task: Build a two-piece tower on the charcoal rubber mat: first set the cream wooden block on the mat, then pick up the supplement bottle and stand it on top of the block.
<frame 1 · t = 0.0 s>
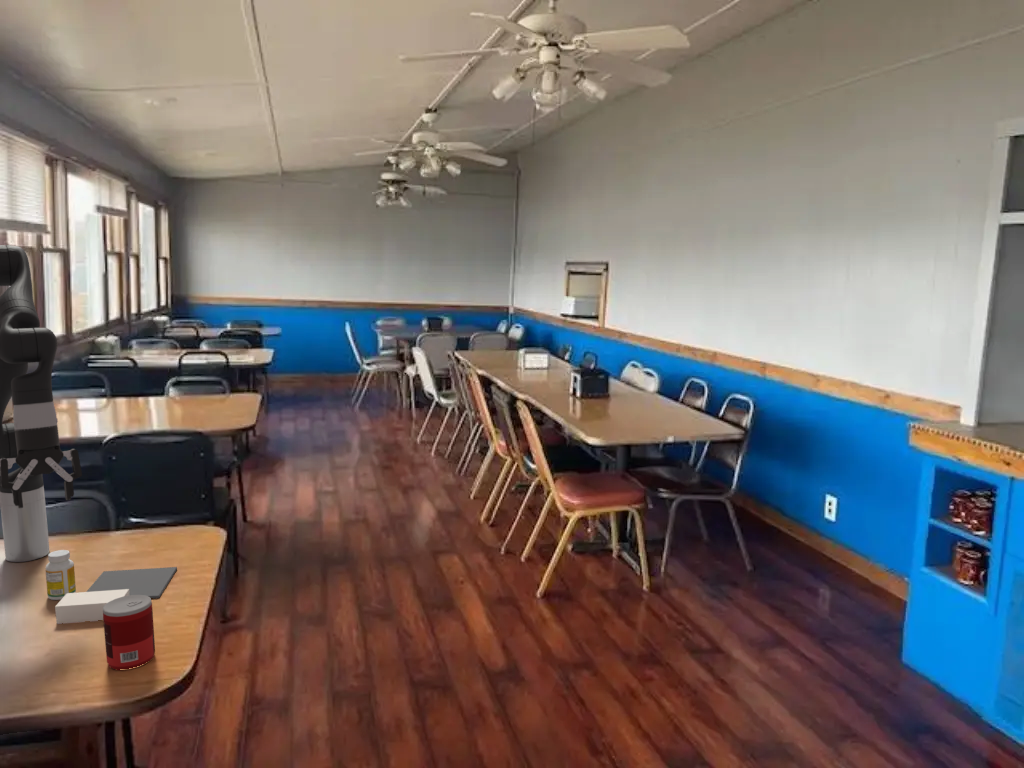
hand: (44, 503, 159), 22 cm above the table, tool pointing down, fingers open, 8 cm apart
supplement bottle: (62, 596, 168), on the table
canned food: (131, 661, 141), on the table
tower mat: (130, 585, 173), on the table
riser block: (94, 615, 159), on the table
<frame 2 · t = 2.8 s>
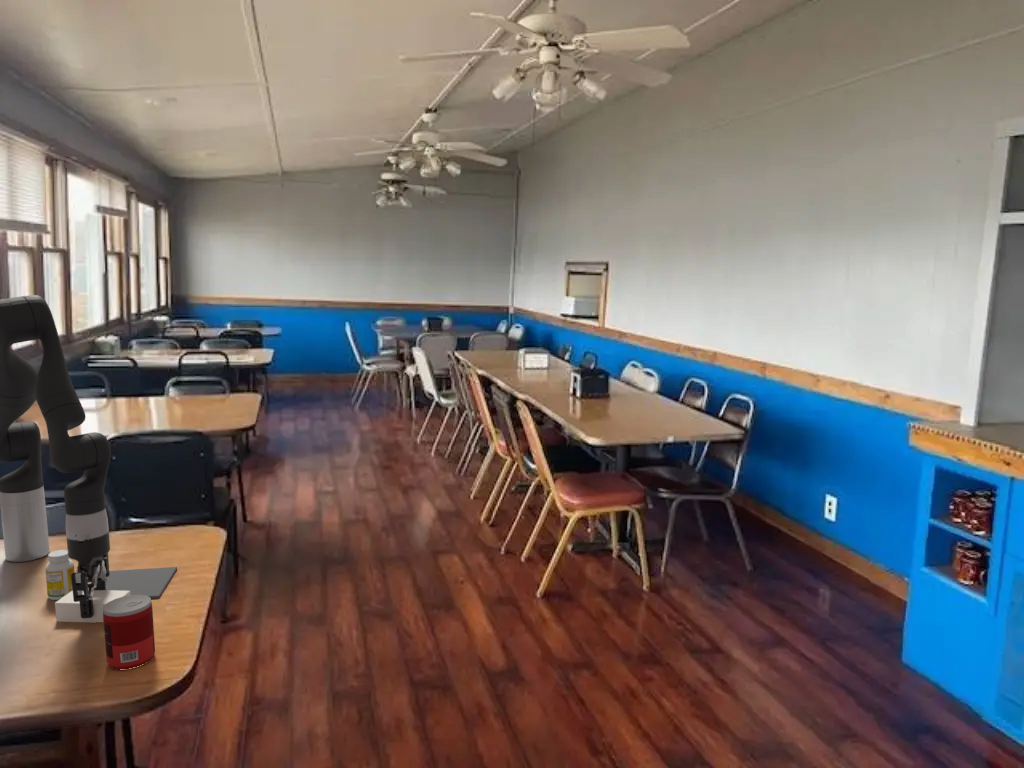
hand: (94, 609, 158), 1 cm above the table, tool pointing down, fingers closed on riser block, 7 cm apart
riser block: (94, 615, 159), on the table, touching gripper
everything else where it was.
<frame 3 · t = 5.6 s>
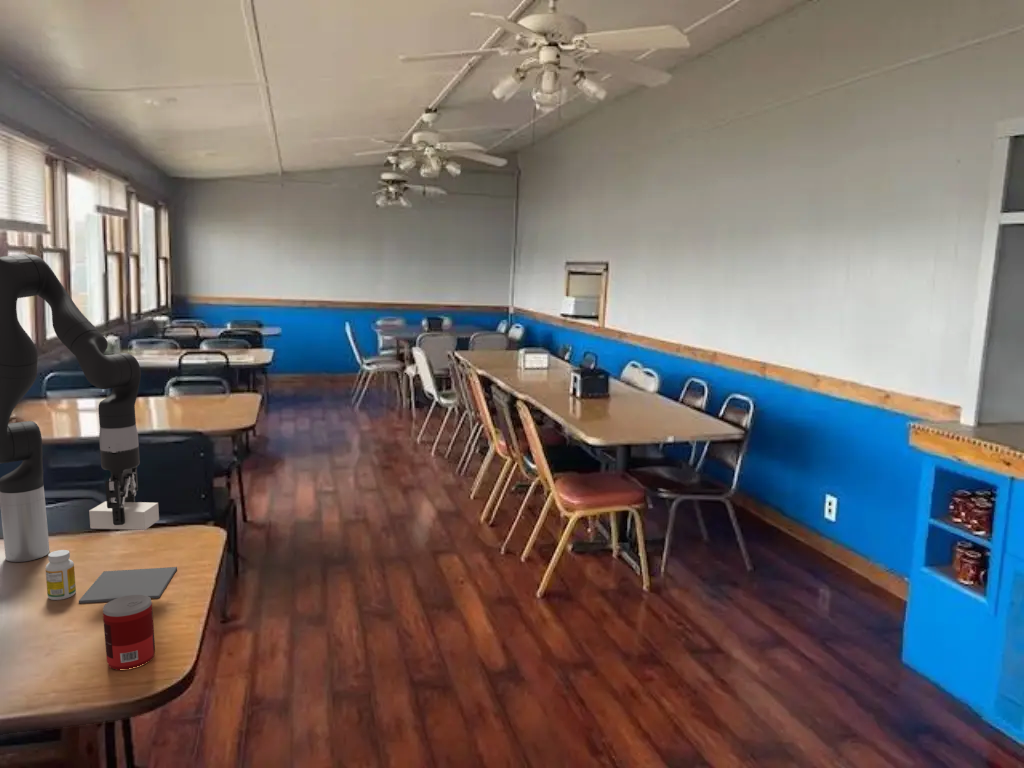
hand: (124, 518, 170), 16 cm above the table, tool pointing down, fingers closed on riser block, 7 cm apart
riser block: (125, 524, 171), point 14 cm above the table, touching gripper
everything else where it was.
when the fingers open (3 cm above the table, at t = 8.7 s): riser block stays where it is, resting on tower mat.
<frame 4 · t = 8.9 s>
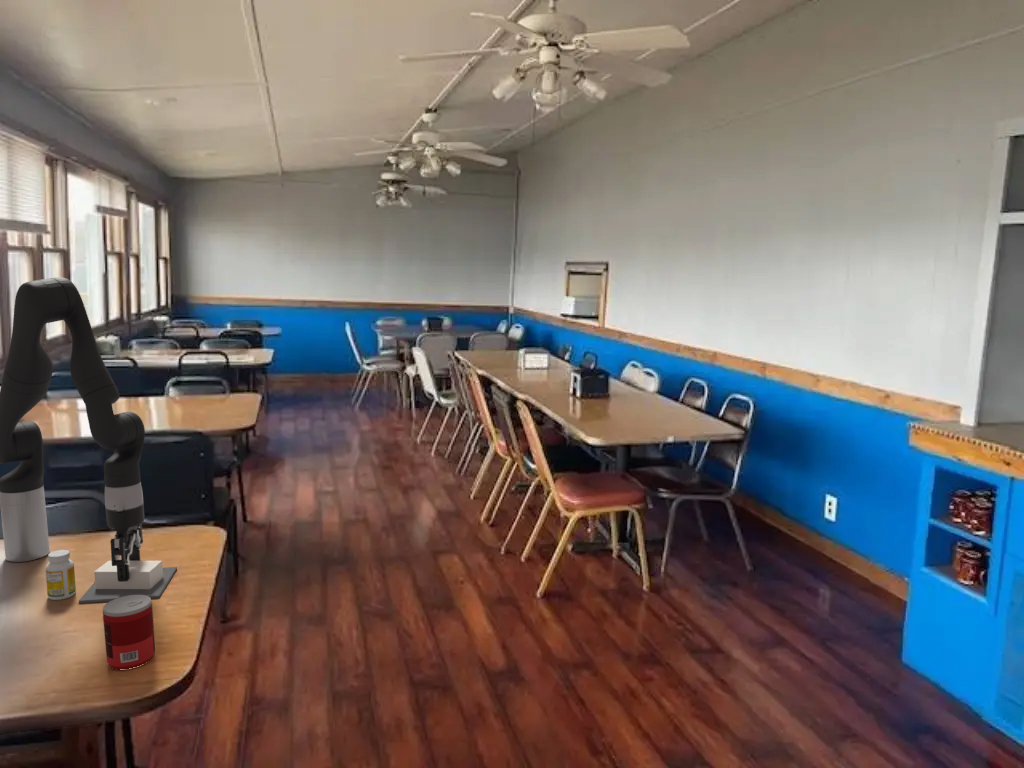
hand: (129, 573, 172), 3 cm above the table, tool pointing down, fingers open, 8 cm apart
riser block: (130, 583, 173), point 1 cm above the table, touching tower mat
everything else where it was.
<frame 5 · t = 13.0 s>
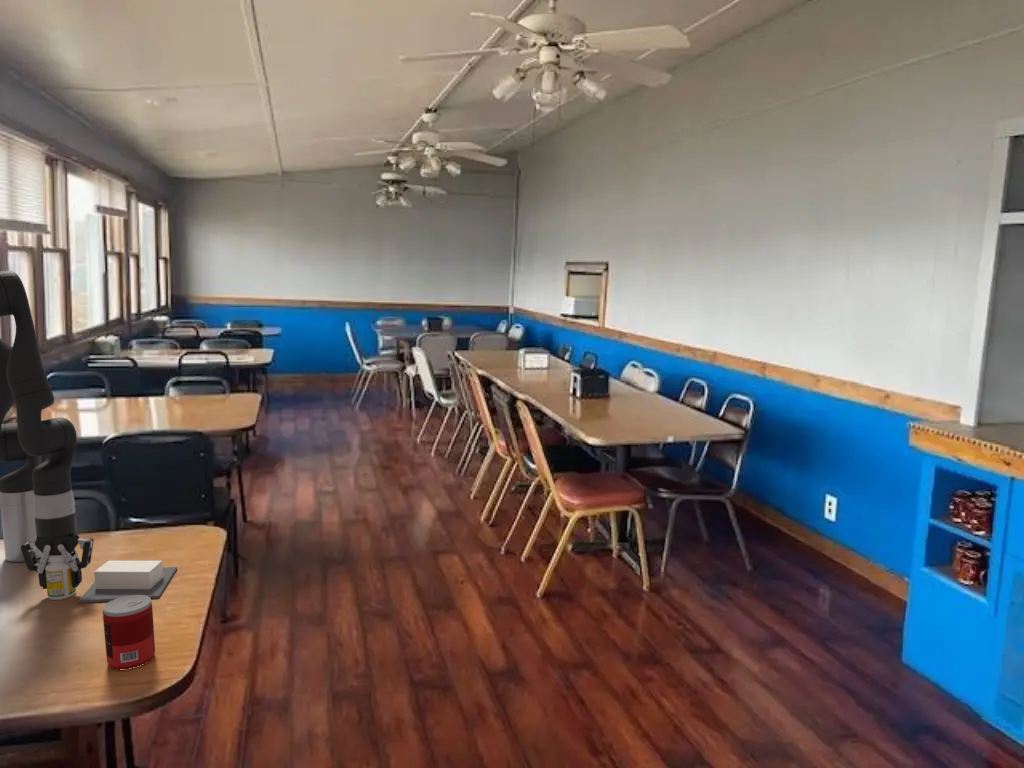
hand: (61, 586, 167), 2 cm above the table, tool pointing down, fingers closed on supplement bottle, 5 cm apart
supplement bottle: (62, 596, 168), on the table, touching gripper
everything else where it was.
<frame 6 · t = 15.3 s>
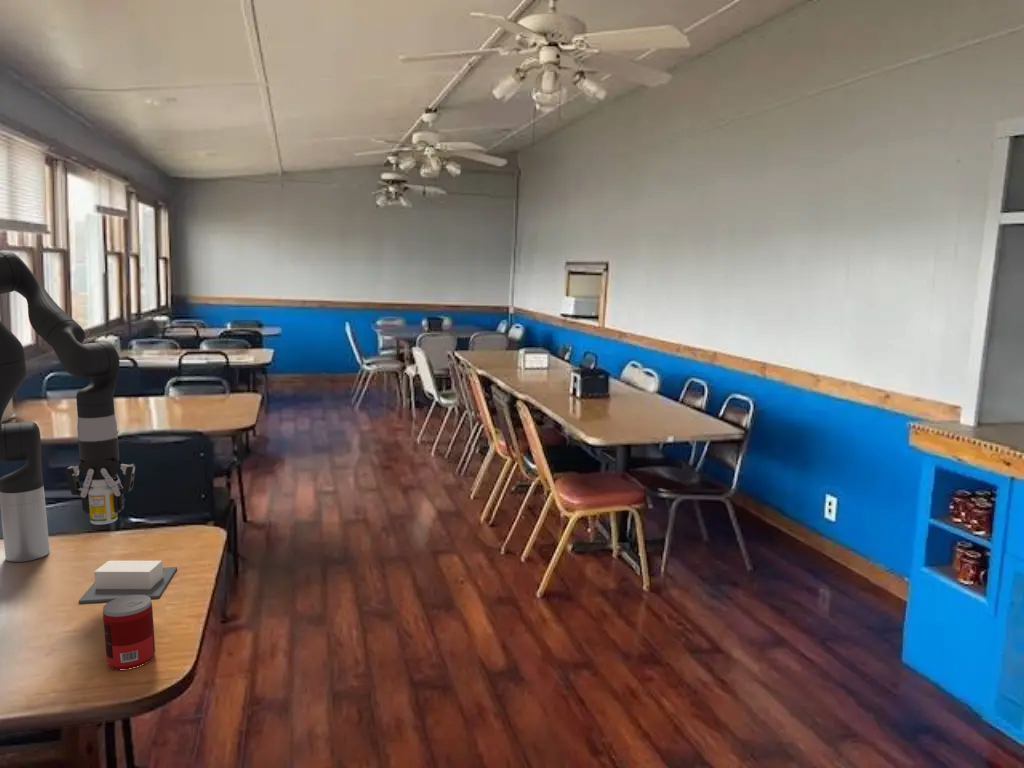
hand: (104, 512, 168), 18 cm above the table, tool pointing down, fingers closed on supplement bottle, 5 cm apart
supplement bottle: (104, 521, 168), point 16 cm above the table, touching gripper
everything else where it was.
when the fingers open (8 cm above the table, at t = 17.9 s): supplement bottle stays where it is, resting on riser block.
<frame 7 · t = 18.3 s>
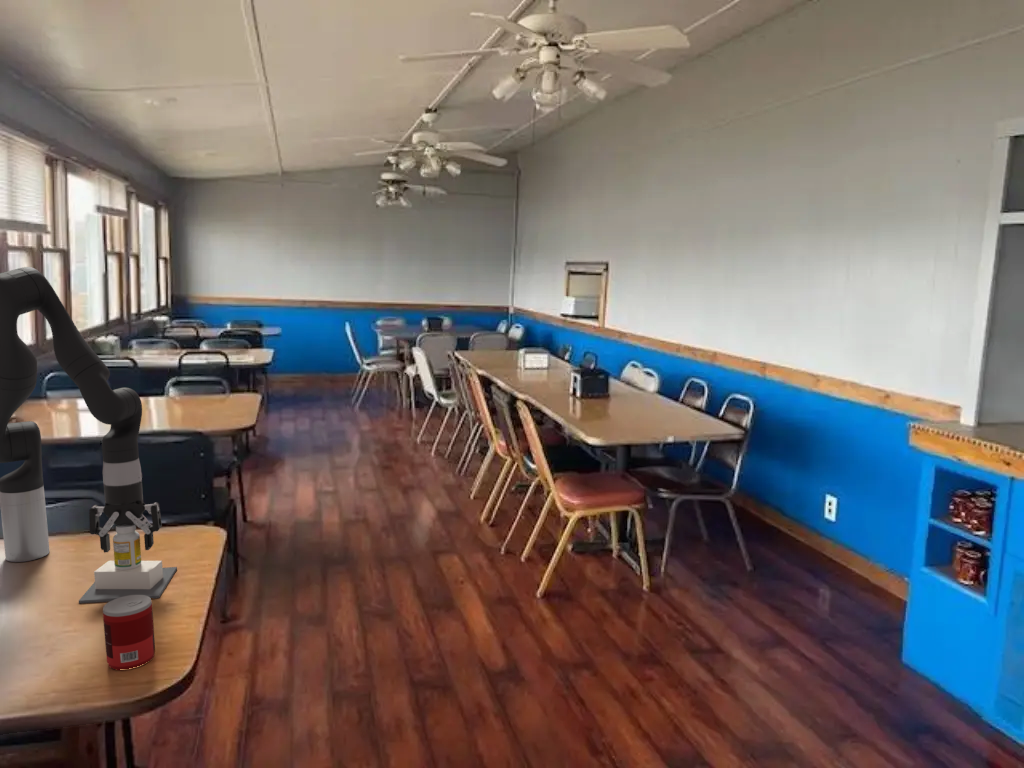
hand: (127, 550, 172), 8 cm above the table, tool pointing down, fingers open, 8 cm apart
supplement bottle: (128, 566, 172), point 4 cm above the table, touching riser block
riser block: (129, 583, 173), point 1 cm above the table, touching supplement bottle, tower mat
everything else where it was.
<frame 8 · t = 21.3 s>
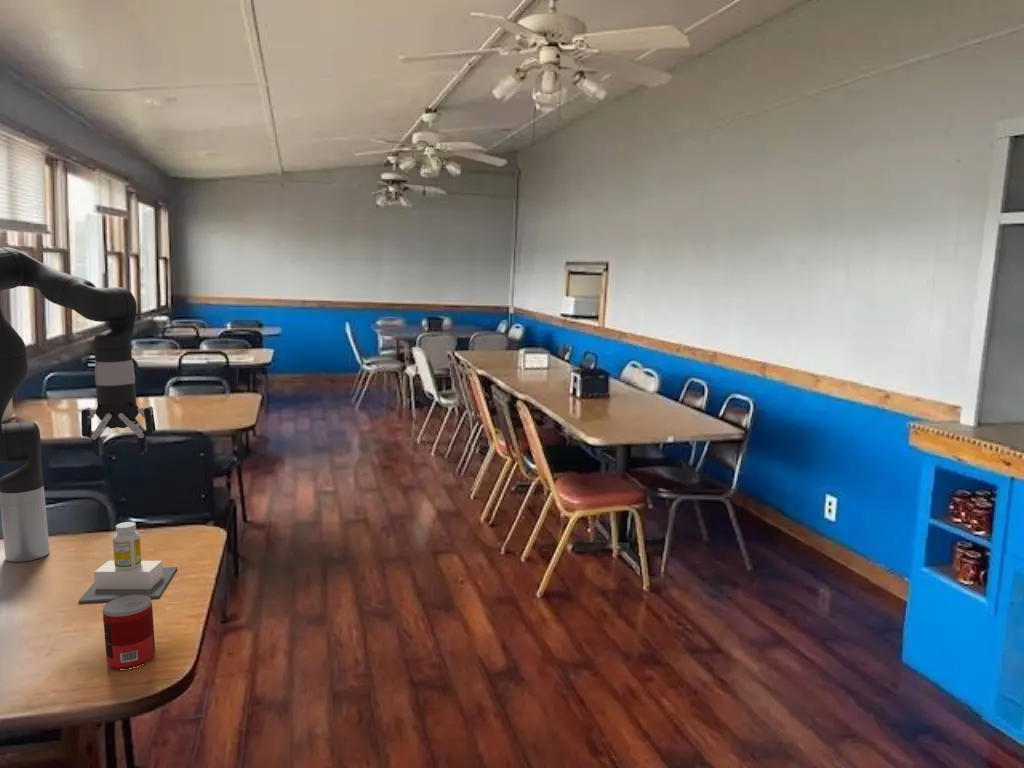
hand: (120, 454, 168), 30 cm above the table, tool pointing down, fingers open, 8 cm apart
nothing on the table moved.
at the end: riser block 0.1 cm off-centre on the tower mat, point 0.6 cm above the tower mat's base; supplement bottle 0.1 cm off-centre on the riser block, point 3.8 cm above the riser block's base; supplement bottle tilted 0° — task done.
